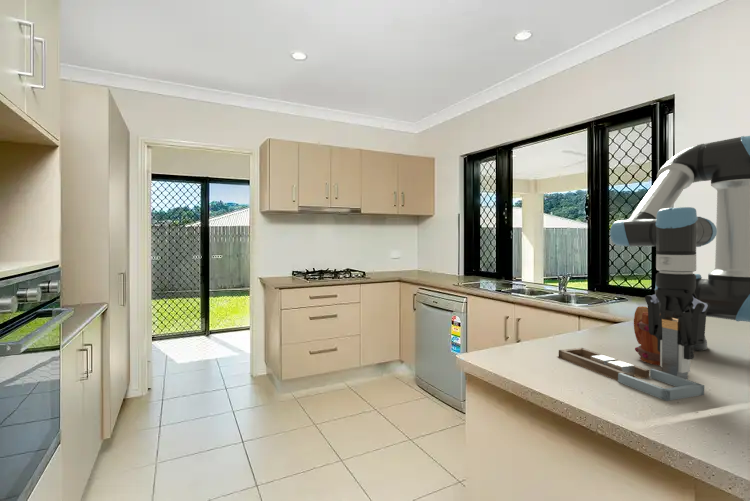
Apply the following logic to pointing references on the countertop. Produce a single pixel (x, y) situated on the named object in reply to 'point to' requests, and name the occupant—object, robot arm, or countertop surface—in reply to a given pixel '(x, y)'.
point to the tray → (680, 391)
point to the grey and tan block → (671, 347)
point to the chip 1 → (602, 359)
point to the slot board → (584, 360)
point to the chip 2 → (622, 367)
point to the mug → (645, 338)
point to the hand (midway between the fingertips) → (674, 368)
